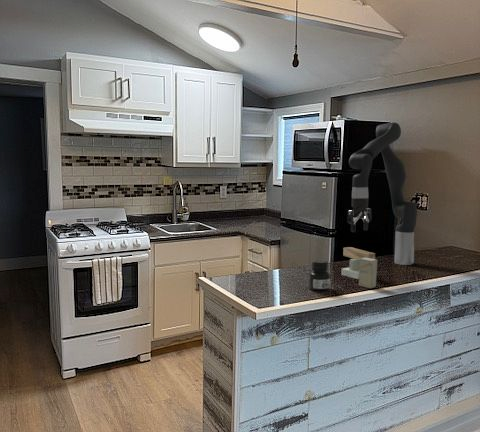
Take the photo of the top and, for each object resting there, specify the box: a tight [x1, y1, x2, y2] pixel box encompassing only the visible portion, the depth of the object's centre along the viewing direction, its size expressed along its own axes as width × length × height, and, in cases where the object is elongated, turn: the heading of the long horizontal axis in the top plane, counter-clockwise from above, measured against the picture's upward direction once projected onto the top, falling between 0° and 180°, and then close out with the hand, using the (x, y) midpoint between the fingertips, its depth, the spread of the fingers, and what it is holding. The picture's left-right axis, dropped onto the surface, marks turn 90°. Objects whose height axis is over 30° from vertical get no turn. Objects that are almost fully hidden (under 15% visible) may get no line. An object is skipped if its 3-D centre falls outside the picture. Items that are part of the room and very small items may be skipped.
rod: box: [342, 246, 376, 260], centre depth 218 cm, size 4×18×4 cm, turn 25°
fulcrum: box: [340, 258, 360, 280], centre depth 219 cm, size 12×10×8 cm
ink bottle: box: [308, 259, 331, 292], centre depth 195 cm, size 10×9×12 cm
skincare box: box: [358, 257, 378, 289], centre depth 199 cm, size 6×4×12 cm
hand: (359, 231), depth 217 cm, fingers open, 8 cm apart
